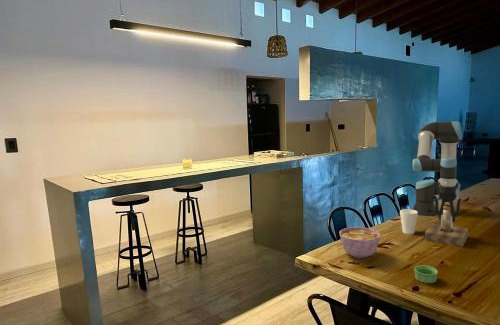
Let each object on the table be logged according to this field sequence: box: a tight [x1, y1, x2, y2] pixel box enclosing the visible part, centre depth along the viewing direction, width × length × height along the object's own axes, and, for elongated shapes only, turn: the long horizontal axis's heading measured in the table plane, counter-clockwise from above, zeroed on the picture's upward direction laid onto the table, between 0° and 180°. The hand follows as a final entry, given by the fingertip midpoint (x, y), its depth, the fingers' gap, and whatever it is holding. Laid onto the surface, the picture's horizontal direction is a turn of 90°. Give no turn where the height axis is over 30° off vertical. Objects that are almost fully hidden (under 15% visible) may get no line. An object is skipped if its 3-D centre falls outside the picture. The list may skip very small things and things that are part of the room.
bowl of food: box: [339, 226, 381, 259], centre depth 170 cm, size 20×20×12 cm
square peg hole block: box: [424, 222, 469, 248], centre depth 186 cm, size 18×18×5 cm
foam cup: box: [399, 208, 418, 235], centre depth 198 cm, size 10×9×13 cm
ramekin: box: [414, 264, 439, 284], centre depth 142 cm, size 9×9×4 cm
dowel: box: [442, 204, 452, 233], centre depth 184 cm, size 4×4×16 cm
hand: (446, 226), depth 185 cm, fingers closed on dowel, 4 cm apart
